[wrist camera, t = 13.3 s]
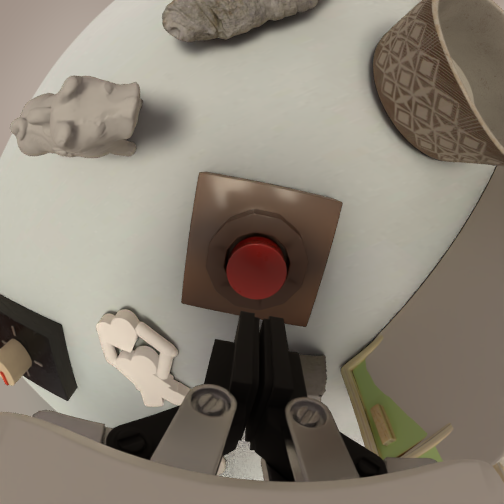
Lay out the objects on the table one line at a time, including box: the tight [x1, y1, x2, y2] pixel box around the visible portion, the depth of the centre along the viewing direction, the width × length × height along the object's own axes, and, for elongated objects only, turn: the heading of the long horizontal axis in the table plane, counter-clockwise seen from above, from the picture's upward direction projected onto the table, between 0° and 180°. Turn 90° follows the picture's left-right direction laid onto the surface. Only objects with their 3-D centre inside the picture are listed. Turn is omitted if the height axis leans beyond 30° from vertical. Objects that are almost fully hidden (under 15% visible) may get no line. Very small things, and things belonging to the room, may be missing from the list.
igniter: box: [181, 172, 342, 327], centre depth 20 cm, size 10×10×4 cm
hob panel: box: [0, 295, 77, 401], centre depth 25 cm, size 14×11×3 cm
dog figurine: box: [10, 76, 143, 158], centre depth 14 cm, size 5×13×11 cm, turn 82°
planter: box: [373, 0, 504, 166], centre depth 12 cm, size 13×13×10 cm
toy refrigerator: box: [341, 335, 504, 482], centre depth 14 cm, size 8×7×21 cm
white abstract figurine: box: [96, 309, 190, 407], centre depth 24 cm, size 9×12×2 cm
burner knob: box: [0, 339, 32, 386], centre depth 21 cm, size 4×4×5 cm
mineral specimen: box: [299, 355, 327, 402], centre depth 21 cm, size 7×9×8 cm
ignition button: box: [226, 237, 287, 299], centre depth 17 cm, size 4×4×2 cm
